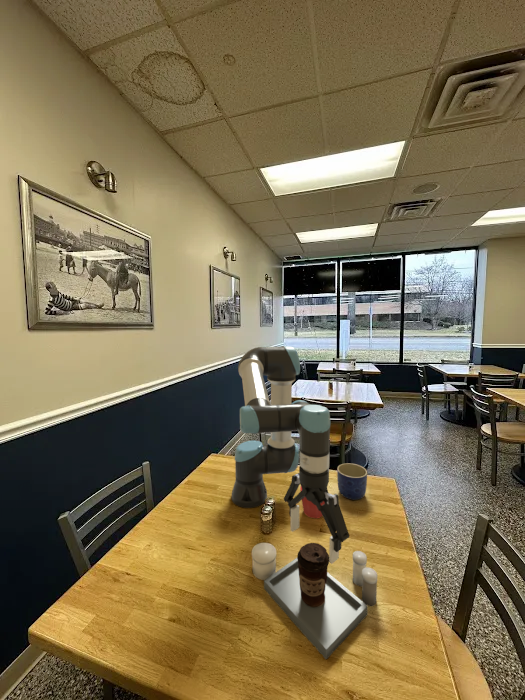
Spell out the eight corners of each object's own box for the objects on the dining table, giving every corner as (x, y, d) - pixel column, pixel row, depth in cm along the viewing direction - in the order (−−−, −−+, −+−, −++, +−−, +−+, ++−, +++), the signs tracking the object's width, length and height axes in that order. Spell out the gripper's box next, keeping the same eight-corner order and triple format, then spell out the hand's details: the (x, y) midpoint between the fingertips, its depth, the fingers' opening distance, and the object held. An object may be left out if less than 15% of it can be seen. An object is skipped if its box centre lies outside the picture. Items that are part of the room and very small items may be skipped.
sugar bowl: (247, 568, 88) (246, 550, 87) (266, 556, 92) (265, 539, 92) (262, 585, 82) (261, 566, 82) (281, 571, 87) (281, 553, 86)
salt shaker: (349, 579, 84) (350, 555, 83) (357, 572, 86) (357, 548, 85) (361, 589, 81) (361, 563, 80) (368, 581, 83) (369, 556, 82)
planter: (369, 491, 128) (370, 467, 127) (362, 506, 117) (363, 480, 116) (341, 483, 134) (342, 460, 133) (333, 496, 124) (333, 472, 123)
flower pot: (330, 507, 117) (330, 484, 116) (324, 524, 107) (324, 499, 106) (304, 501, 121) (304, 478, 120) (296, 517, 111) (296, 492, 110)
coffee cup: (329, 616, 72) (329, 567, 71) (296, 610, 74) (295, 562, 73) (328, 585, 81) (329, 541, 79) (298, 580, 82) (298, 537, 81)
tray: (264, 588, 81) (264, 580, 81) (304, 560, 91) (304, 552, 90) (326, 659, 64) (326, 649, 63) (367, 614, 73) (367, 605, 73)
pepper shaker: (358, 598, 78) (359, 572, 77) (366, 590, 80) (367, 565, 79) (371, 609, 75) (372, 582, 74) (379, 600, 77) (380, 574, 76)
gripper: (271, 453, 81) (271, 523, 84) (346, 495, 62) (343, 585, 64) (290, 446, 86) (290, 512, 88) (366, 482, 67) (363, 567, 69)
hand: (313, 543), depth 76 cm, fingers open, 13 cm apart
